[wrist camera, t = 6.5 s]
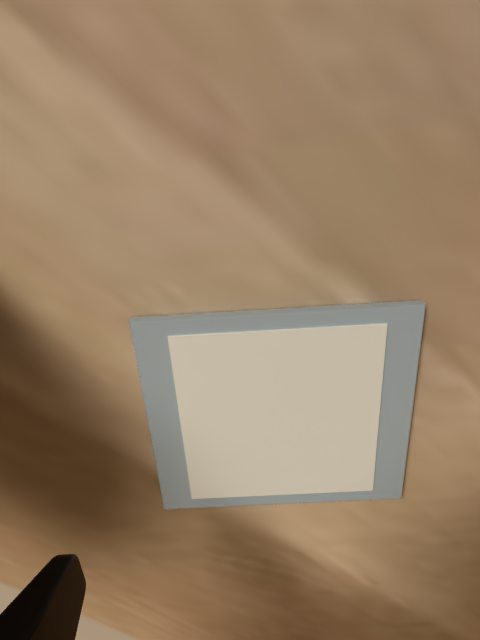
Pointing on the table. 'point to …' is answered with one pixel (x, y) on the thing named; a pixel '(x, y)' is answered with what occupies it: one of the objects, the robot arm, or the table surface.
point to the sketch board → (280, 402)
